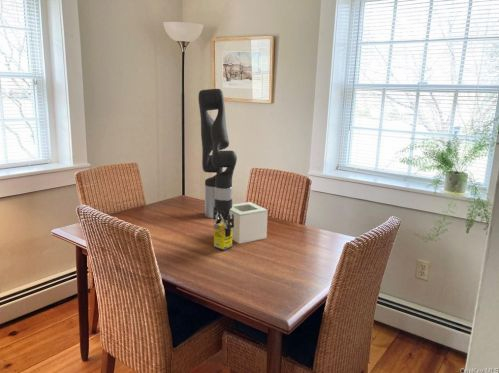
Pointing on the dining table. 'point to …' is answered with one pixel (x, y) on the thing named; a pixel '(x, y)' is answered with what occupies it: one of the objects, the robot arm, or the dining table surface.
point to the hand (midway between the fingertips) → (223, 233)
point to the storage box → (249, 222)
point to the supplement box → (222, 237)
